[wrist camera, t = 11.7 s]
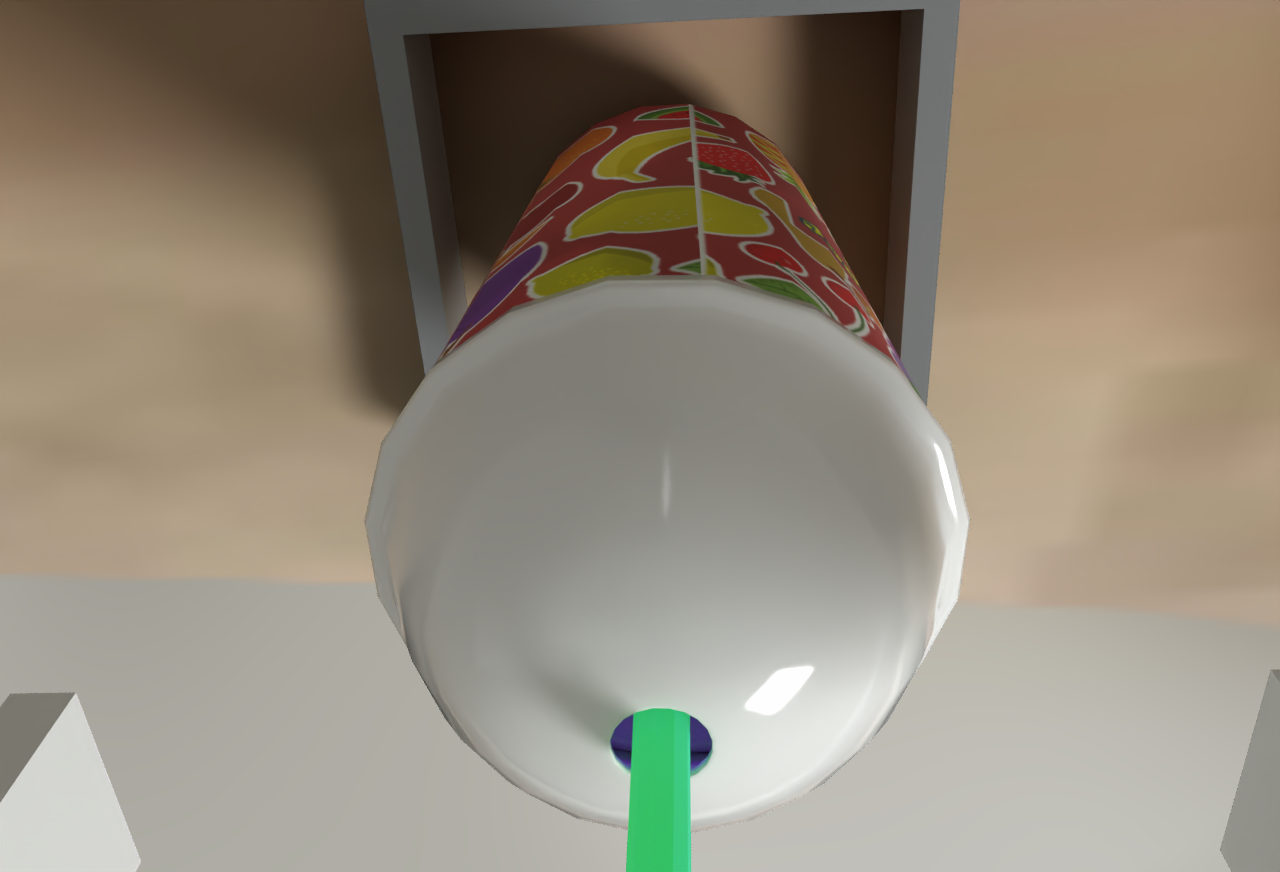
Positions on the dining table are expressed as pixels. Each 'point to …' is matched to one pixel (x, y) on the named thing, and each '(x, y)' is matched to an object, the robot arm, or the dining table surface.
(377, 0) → the socket
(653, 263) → the smoothie
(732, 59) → the dining table surface
